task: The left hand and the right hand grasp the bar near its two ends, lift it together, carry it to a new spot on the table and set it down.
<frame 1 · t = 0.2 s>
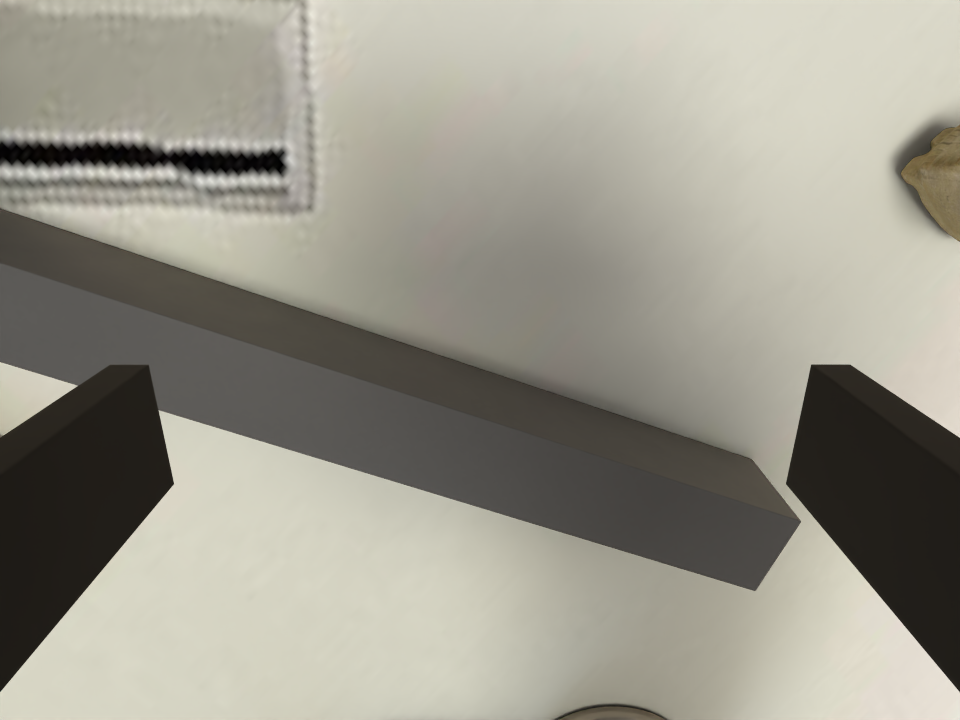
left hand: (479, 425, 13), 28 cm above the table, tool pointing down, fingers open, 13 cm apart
bar: (370, 373, 42), on the table
sculpture: (943, 179, 37), on the table
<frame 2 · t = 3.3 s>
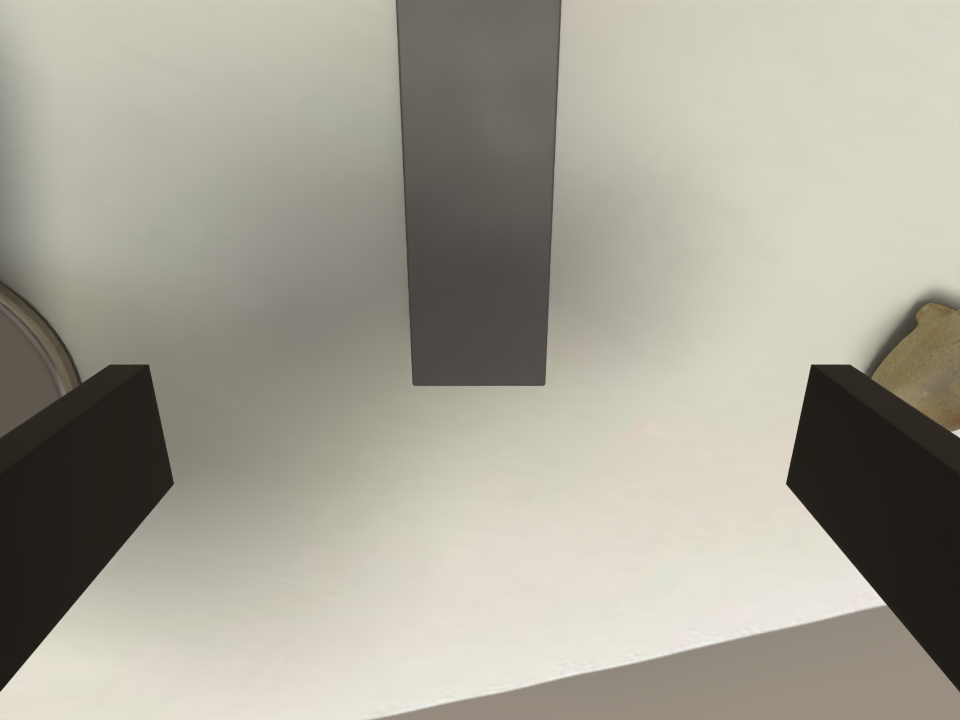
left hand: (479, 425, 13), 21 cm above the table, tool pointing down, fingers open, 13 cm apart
sculpture: (914, 354, 34), on the table
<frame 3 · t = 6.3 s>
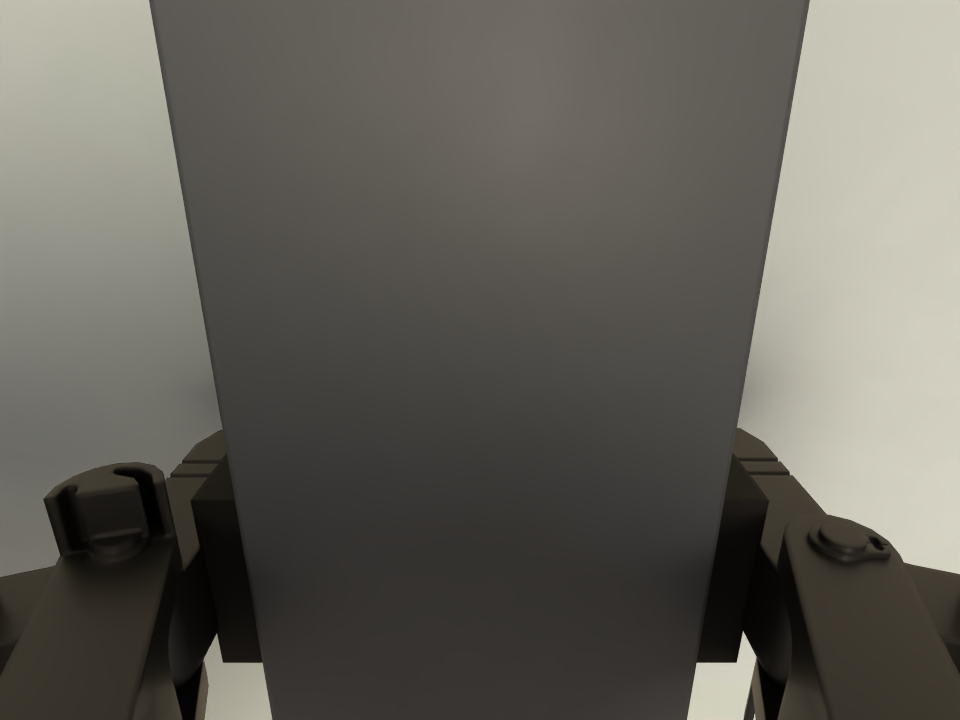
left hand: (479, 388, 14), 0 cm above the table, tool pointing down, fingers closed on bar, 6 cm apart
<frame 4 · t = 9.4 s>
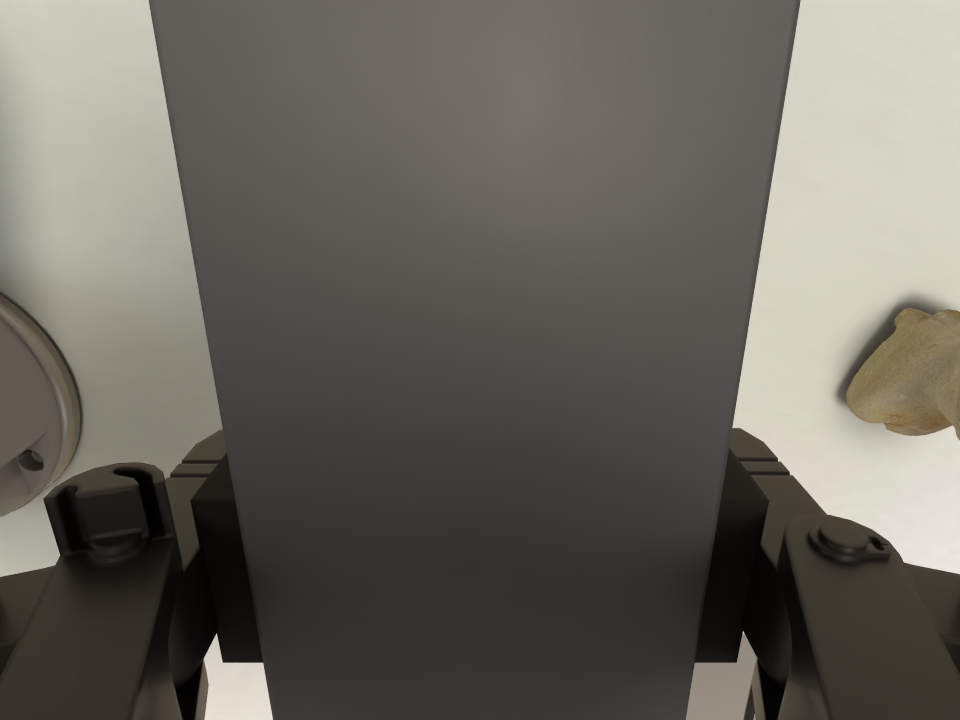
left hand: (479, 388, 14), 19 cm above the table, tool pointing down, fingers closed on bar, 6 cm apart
sculpture: (894, 358, 35), on the table
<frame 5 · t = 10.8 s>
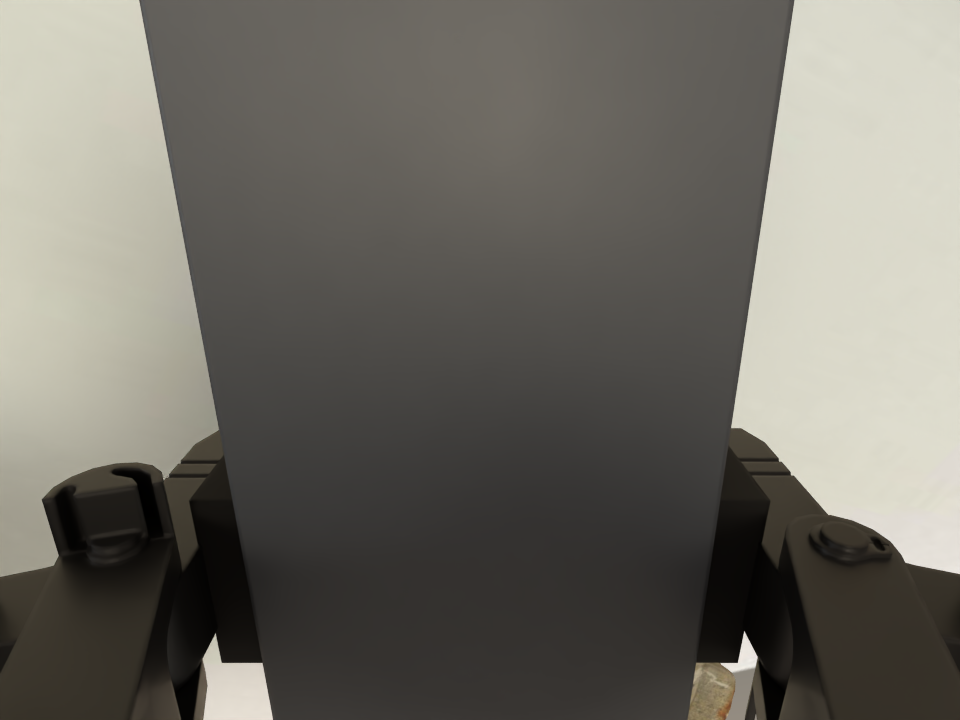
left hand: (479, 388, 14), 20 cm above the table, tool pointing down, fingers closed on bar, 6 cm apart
sculpture: (612, 490, 39), on the table
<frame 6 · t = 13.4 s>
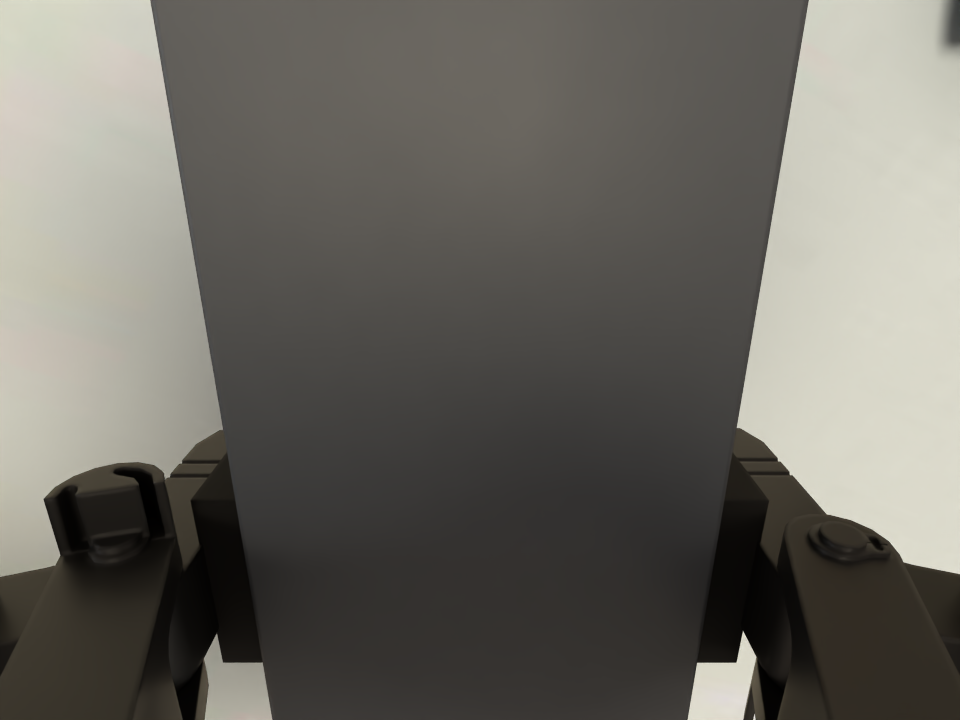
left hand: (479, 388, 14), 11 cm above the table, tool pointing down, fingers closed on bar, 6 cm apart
when the left hand's fingers open (2 cm above the table, at t = 15.3 s): bar drops 2 cm, on the table.
when the right hand's fingers open (2 cm above the table, at t = 15.3 s): bar drops 2 cm, on the table.
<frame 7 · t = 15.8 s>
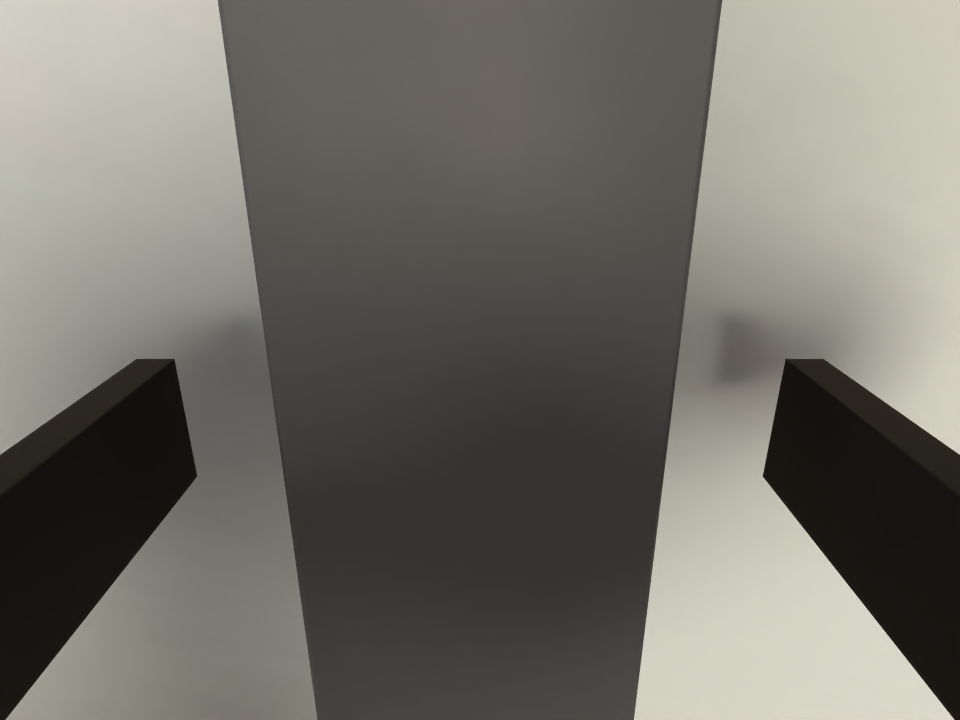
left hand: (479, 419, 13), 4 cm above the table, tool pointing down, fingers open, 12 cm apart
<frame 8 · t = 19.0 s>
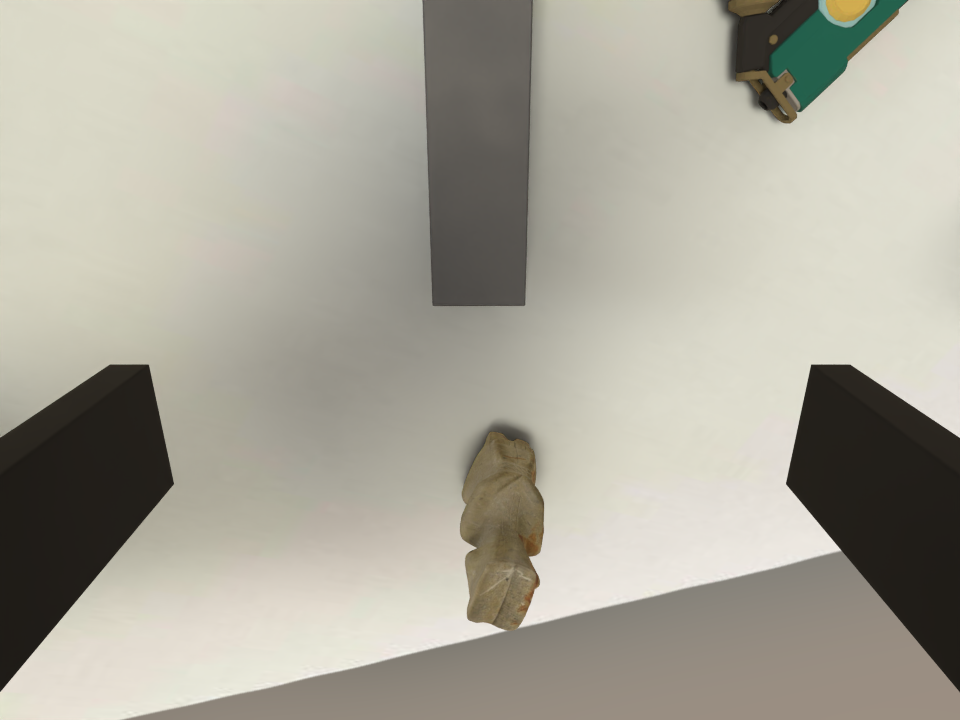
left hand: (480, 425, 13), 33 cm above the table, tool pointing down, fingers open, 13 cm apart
sculpture: (498, 461, 51), on the table
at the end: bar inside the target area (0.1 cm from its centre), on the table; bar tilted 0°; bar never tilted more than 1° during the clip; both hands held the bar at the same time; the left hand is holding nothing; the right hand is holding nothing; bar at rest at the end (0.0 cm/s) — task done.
